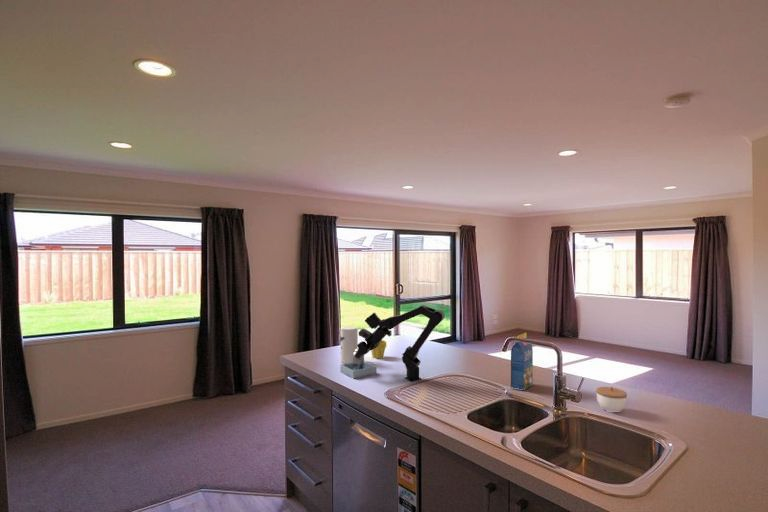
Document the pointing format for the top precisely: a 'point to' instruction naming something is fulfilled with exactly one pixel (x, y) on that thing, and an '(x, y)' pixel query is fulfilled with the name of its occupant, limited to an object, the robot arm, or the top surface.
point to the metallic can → (358, 361)
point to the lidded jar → (611, 398)
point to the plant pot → (379, 350)
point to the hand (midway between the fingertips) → (358, 354)
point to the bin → (367, 370)
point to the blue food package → (521, 364)
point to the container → (348, 343)
